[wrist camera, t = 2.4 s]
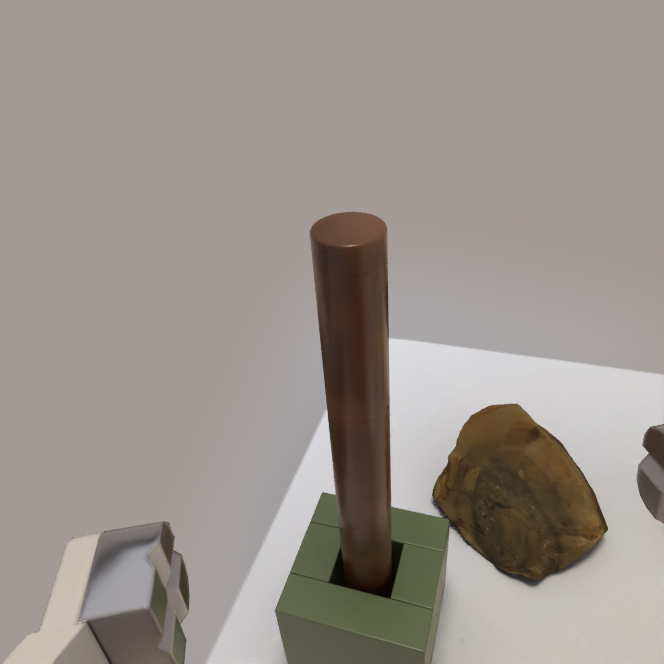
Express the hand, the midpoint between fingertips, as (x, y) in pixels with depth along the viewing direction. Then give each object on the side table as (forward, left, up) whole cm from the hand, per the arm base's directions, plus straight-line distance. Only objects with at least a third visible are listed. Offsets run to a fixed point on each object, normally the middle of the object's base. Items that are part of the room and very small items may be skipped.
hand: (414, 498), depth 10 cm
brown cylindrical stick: (0, +10, -24) cm, 26 cm away
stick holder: (0, +10, -24) cm, 26 cm away
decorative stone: (+11, +17, -24) cm, 31 cm away
